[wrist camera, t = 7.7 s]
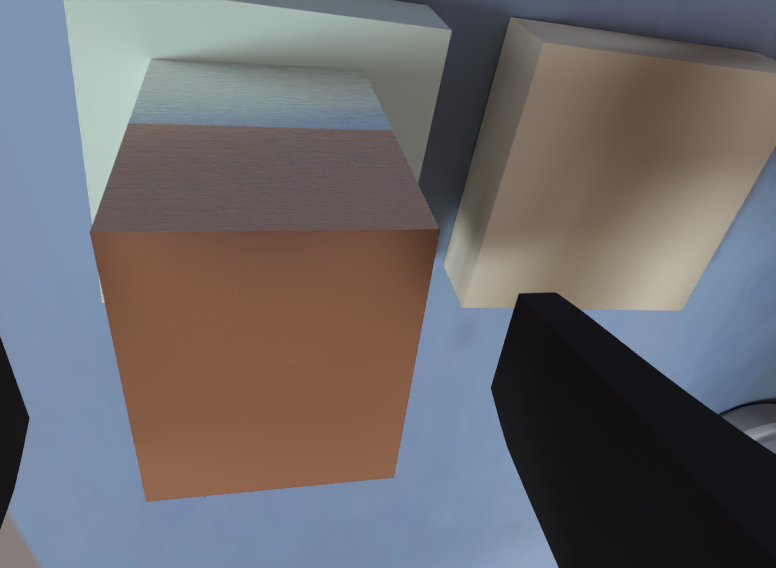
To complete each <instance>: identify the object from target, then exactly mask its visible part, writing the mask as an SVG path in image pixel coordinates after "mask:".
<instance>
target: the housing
mask: <svg viewBox="0 0 776 568" xmlns="http://www.w3.org/2000/svg"><path fill="white" fill-rule="evenodd" d="M439 231H440V228H439V226H438V224H437V222H436V220H435V218H434V216H433V214H432V212H431V209H430V207H429V205H428V203H427V201H426V199H425V197H424V195H423V193H422V191H421V189H420V186H419V184H418V182H417V180H416V178H415V176H414V174H413V172H412V170H411V168H410V166H409V163H408V161H407V159H406V157H405V155H404V153H403V151H402V149H401V147H400V145H399V143H398V140H397V138H396V136H395V134H394V132H393V130H392V128H391V126H390V124H389V122H388V120H387V117H386V115H385V113H384V111H383V109H382V107H381V105H380V103H379V101H378V99H377V97H376V94H375V92H374V90H373V88H372V86H371V84H370V82H369V80H368V78H367V76H366V74H365V71H364V69H349V68H328V67H308V66H287V65H267V64H246V63H226V62H205V61H185V60H164V59H151V60H150V62H149V65H148V68H147V71H146V74H145V77H144V80H143V82H142V85H141V88H140V91H139V94H138V97H137V99H136V102H135V105H134V108H133V111H132V114H131V117H130V119H129V122H128V125H127V128H126V131H125V134H124V136H123V139H122V142H121V145H120V148H119V151H118V154H117V156H116V159H115V162H114V165H113V168H112V171H111V173H110V176H109V179H108V182H107V185H106V188H105V191H104V193H103V196H102V199H101V202H100V205H99V208H98V210H97V213H96V216H95V219H94V222H93V225H92V228H91V230H90V235H91V240H92V244H93V249H94V254H95V259H96V264H97V268H98V273H99V278H100V283H101V287H102V292H103V297H104V302H105V306H106V311H107V316H108V321H109V326H110V330H111V335H112V340H113V345H114V349H115V354H116V359H117V364H118V369H119V373H120V378H121V383H122V388H123V392H124V397H125V402H126V407H127V412H128V416H129V421H130V426H131V431H132V435H133V440H134V445H135V450H136V455H137V459H138V464H139V469H140V474H141V478H142V483H143V488H144V493H145V498H146V502H148V501H159V500H169V499H179V498H189V497H200V496H210V495H220V494H230V493H241V492H251V491H261V490H271V489H282V488H292V487H302V486H312V485H323V484H333V483H343V482H353V481H364V480H374V479H384V478H394V474H395V468H396V463H397V458H398V452H399V447H400V441H401V436H402V431H403V425H404V420H405V414H406V409H407V404H408V398H409V393H410V388H411V382H412V377H413V371H414V366H415V361H416V355H417V350H418V344H419V339H420V334H421V328H422V323H423V318H424V312H425V307H426V301H427V296H428V291H429V285H430V280H431V274H432V269H433V264H434V258H435V253H436V247H437V242H438V237H439Z"/></svg>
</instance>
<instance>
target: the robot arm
mask: <svg viewBox="0 0 776 568" xmlns="http://www.w3.org/2000/svg"><path fill="white" fill-rule="evenodd" d="M491 390H492V394H493V398H494V402H495V406H496V409H497V413H498V417H499V421H500V424H501V427H502V431H503V434H504V437H505V441H506V444H507V447H508V450H509V452H510V455H511V457H512V460H513V462H514V464H515V467H516V469H517V472H518V474H519V476H520V479H521V481H522V483H523V486H524V488H525V491H526V493H527V495H528V498H529V500H530V502H531V505H532V507H533V509H534V512H535V514H536V516H537V518H538V521H539V523H540V525H541V528H542V530H543V532H544V535H545V537H546V539H547V542H548V544H549V546H550V549H551V551H552V553H553V556H554V558H555V560H556V563H557V565H558V567H559V568H776V454H775V453H774V452H772V451H771V450H769V449H768V448H766V447H764V446H763V445H761V444H760V443H758V442H757V441H755V440H754V439H752V438H751V437H750V436H748V435H747V434H745V433H744V432H742V431H741V430H739V429H738V428H737V427H735V426H734V425H732V424H731V423H729V422H728V421H727V420H725V419H724V418H722V417H721V416H719V415H718V414H716V413H715V412H714V411H712V410H711V409H709V408H708V407H706V406H705V405H704V404H702V403H701V402H700V401H698V400H697V399H696V398H694V397H693V396H691V395H690V394H689V393H687V392H686V391H685V390H683V389H682V388H681V387H679V386H678V385H677V384H675V383H674V382H673V381H671V380H670V379H669V378H667V377H666V376H665V375H663V374H662V373H661V372H659V371H658V370H657V369H656V368H654V367H653V366H652V365H650V364H649V363H648V362H646V361H645V360H644V359H643V358H641V357H640V356H639V355H637V354H636V353H635V352H634V351H632V350H631V349H630V348H629V347H627V346H626V345H625V344H623V343H622V342H621V341H620V340H618V339H617V338H616V337H615V336H613V335H612V334H611V333H609V332H608V331H607V330H606V329H604V328H603V327H602V326H601V325H599V324H598V323H597V322H595V321H594V320H593V319H592V318H590V317H589V316H588V315H586V314H585V313H584V312H583V311H581V310H580V309H579V308H577V307H576V306H575V305H573V304H572V303H571V302H569V301H568V300H566V299H565V298H563V297H562V296H561V295H559V294H558V293H556V292H544V293H519V294H518V297H517V301H516V304H515V307H514V311H513V314H512V318H511V321H510V324H509V328H508V331H507V335H506V338H505V341H504V345H503V348H502V352H501V355H500V358H499V362H498V365H497V369H496V372H495V375H494V379H493V382H492V386H491ZM28 423H29V416H28V413H27V410H26V407H25V404H24V402H23V399H22V396H21V393H20V391H19V388H18V385H17V382H16V379H15V377H14V374H13V371H12V368H11V365H10V363H9V360H8V357H7V354H6V351H5V349H4V346H3V343H2V340H1V338H0V529H1V526H2V523H3V520H4V517H5V515H6V512H7V509H8V506H9V503H10V500H11V497H12V494H13V492H14V488H15V484H16V479H17V475H18V471H19V466H20V462H21V458H22V453H23V448H24V443H25V438H26V433H27V428H28Z"/></svg>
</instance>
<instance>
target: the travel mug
mask: <svg viewBox="0 0 776 568" xmlns="http://www.w3.org/2000/svg"><path fill="white" fill-rule="evenodd" d="M720 416H721V417H722V418H724V419H725V420H727V421H728V422H729V423H731V424H732V425H734V426H735V427H737V428H738V429H739V430H741V431H742V432H744V433H745V434H747V435H748V436H750V437H751V438H752V439H754V440H755V441H757V442H758V443H760V444H761V445H763V446H764V447H766V448H768V449H769V450H771V451H772V452H774V453H775V454H776V404H771V403H768V404H755V405H750V406H745V407H741V408H738V409H735V410H732V411H729V412H727V413H724V414H722V415H720Z"/></svg>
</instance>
